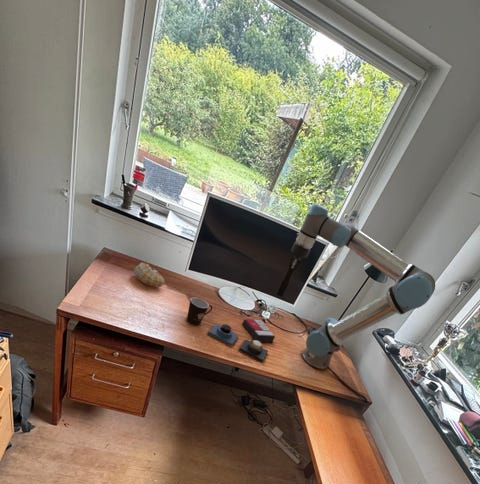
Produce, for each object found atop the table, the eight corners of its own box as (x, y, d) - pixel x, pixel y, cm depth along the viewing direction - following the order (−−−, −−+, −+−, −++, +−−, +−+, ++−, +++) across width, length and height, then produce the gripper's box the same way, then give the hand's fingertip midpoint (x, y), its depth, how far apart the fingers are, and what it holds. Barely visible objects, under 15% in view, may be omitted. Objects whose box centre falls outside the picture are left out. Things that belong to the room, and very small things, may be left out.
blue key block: (237, 337, 164) (240, 331, 162) (231, 346, 156) (233, 340, 154) (215, 326, 164) (217, 320, 162) (207, 334, 156) (210, 328, 154)
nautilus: (133, 267, 176) (161, 277, 182) (130, 284, 160) (162, 294, 166) (136, 252, 171) (166, 263, 177) (134, 268, 156) (166, 279, 162)
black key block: (266, 353, 164) (269, 347, 162) (261, 362, 157) (265, 356, 154) (244, 341, 164) (247, 335, 162) (238, 350, 156) (241, 344, 154)
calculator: (261, 319, 180) (276, 335, 171) (258, 326, 182) (272, 342, 174) (244, 317, 174) (258, 334, 165) (241, 325, 176) (255, 341, 168)
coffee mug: (185, 324, 155) (191, 305, 149) (183, 314, 161) (189, 295, 154) (209, 330, 159) (216, 311, 153) (207, 320, 165) (213, 302, 159)
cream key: (261, 346, 160) (262, 343, 159) (258, 350, 157) (260, 347, 155) (252, 342, 160) (254, 338, 159) (250, 346, 157) (252, 342, 155)
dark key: (230, 331, 160) (232, 327, 159) (227, 334, 157) (229, 331, 155) (222, 326, 160) (224, 323, 159) (219, 330, 156) (220, 326, 155)
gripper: (297, 238, 150) (274, 287, 165) (293, 243, 140) (269, 296, 154) (312, 245, 150) (288, 294, 165) (309, 252, 140) (284, 303, 155)
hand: (279, 295), depth 160 cm, fingers closed
